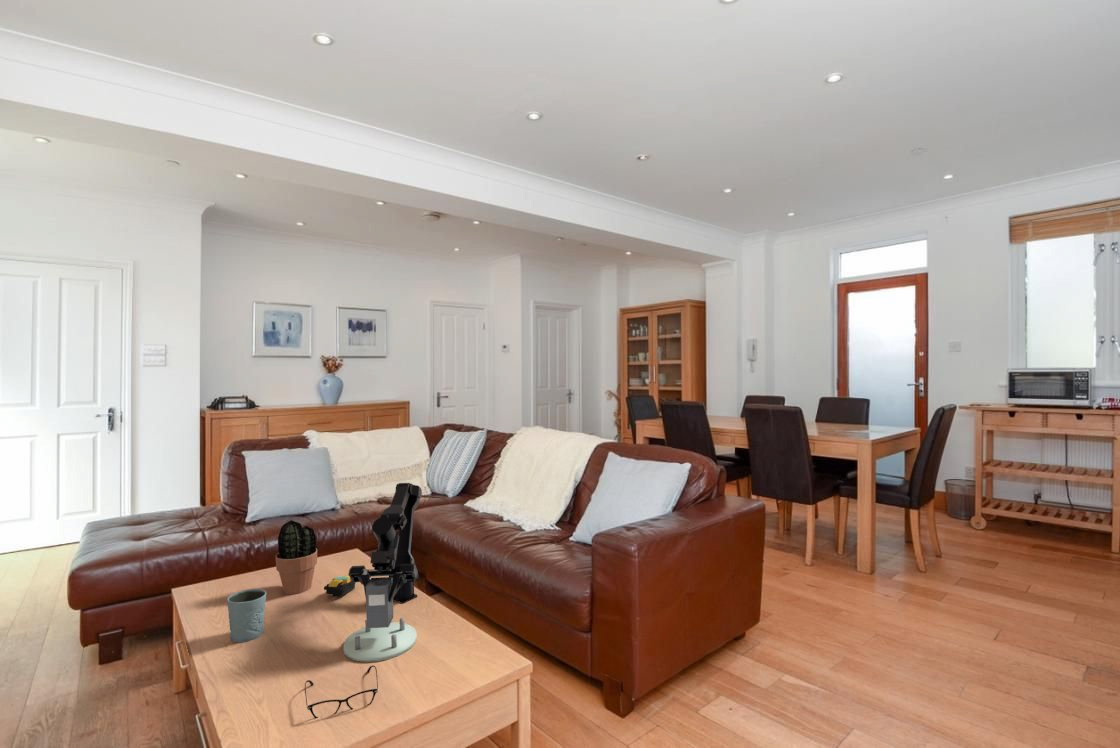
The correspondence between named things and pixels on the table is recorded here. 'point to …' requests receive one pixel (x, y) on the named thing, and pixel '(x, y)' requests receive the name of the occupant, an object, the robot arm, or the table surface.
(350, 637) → the pin plate
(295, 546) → the potted plant
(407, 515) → the robot arm
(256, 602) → the embossed blue-grey cup
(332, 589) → the gadget
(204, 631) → the table surface
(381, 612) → the block
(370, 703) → the eyeglasses
